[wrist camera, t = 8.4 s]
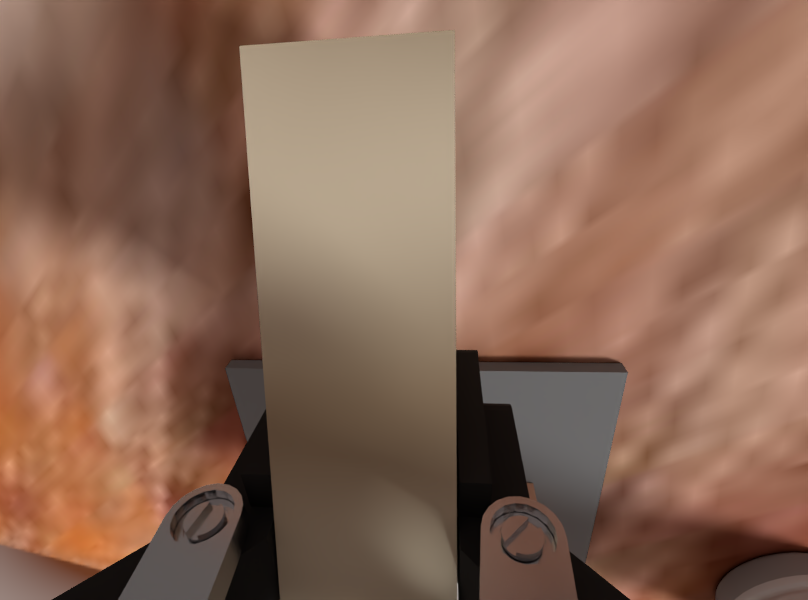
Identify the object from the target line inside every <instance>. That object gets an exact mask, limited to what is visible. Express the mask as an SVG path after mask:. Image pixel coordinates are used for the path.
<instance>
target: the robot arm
mask: <svg viewBox="0 0 808 600" xmlns="http://www.w3.org/2000/svg"><path fill="white" fill-rule="evenodd" d="M456 456H457V583H458V600H630V599H629V598H627V597H626V596H625V595H624V594H622V593H621V592H620V591H619V590H617V589H616V588H615V587H614V586H612V585H611V584H610V583H609V582H607V581H606V580H605V579H604V578H602V577H601V576H600V575H599V574H597V573H596V572H595V571H594V570H592V569H591V568H590V567H589V566H587V565H586V564H585V563H584V562H582V561H581V560H580V559H579V558H577V557H576V556H575V555H574V554H572V553H571V552H570V551H569V547H568V541H567V536H566V533H565V530H564V527H563V525H562V523H561V522H560V521H559V519H558V518H557V516H556V515H555V514H554V513H553V512H552V511H551V510H550V509H548V508H547V507H546V506H545V505H543V504H541V503H539V502H537V501H535V500H533V499H530V497H529V492H528V487H527V482H526V477H525V472H524V467H523V461H522V456H521V451H520V446H519V441H518V436H517V431H516V426H515V421H514V416H513V410H512V407H511V404H494V403H483V396H482V387H481V378H480V369H479V360H478V351H477V350H456ZM52 600H280V592H279V578H278V564H277V551H276V537H275V524H274V510H273V497H272V483H271V469H270V456H269V442H268V429H267V415H266V409H265V411H264V413H263V415H262V417H261V418H260V420H259V422H258V424H257V426H256V427H255V429H254V431H253V433H252V435H251V436H250V438H249V440H248V442H247V444H246V445H245V447H244V449H243V451H242V453H241V454H240V456H239V458H238V460H237V462H236V463H235V465H234V467H233V469H232V470H231V472H230V474H229V476H228V478H227V479H226V481H225V483H224V484H219V483H218V484H211V485H206V486H203V487H201V488H198V489H195V490H193V491H192V492H190V493H189V494H187V495H185V496H184V497H182V498H181V499H180V500H179V501H178V502H177V503H176V504H175V505H173V506H172V508H171V509H170V511H169V512H168V513H167V515H166V516H165V518H164V519H163V521H162V523H161V525H160V526H159V528H158V530H157V532H156V534H155V535H154V537H153V539H152V541H151V542H150V543H149V544H147V545H145V546H144V547H142V548H140V549H138V550H137V551H135V552H133V553H131V554H130V555H128V556H126V557H125V558H123V559H121V560H119V561H118V562H116V563H114V564H113V565H111V566H109V567H107V568H106V569H104V570H102V571H101V572H99V573H97V574H95V575H94V576H92V577H90V578H88V579H87V580H85V581H83V582H82V583H80V584H78V585H76V586H75V587H73V588H71V589H70V590H68V591H66V592H64V593H63V594H61V595H59V596H57V597H56V598H54V599H52Z"/></svg>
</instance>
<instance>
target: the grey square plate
mask: <svg viewBox="0 0 808 600" xmlns="http://www.w3.org/2000/svg"><path fill="white" fill-rule="evenodd" d="M479 369H480V378H481V387H482V396H483V403H494V404H511V407H512V410H513V416H514V421H515V426H516V431H517V436H518V441H519V446H520V451H521V456H522V461H523V467H524V472H525V477H526V482H527V483H533V485H534V490H535V494H536V499H537V502H539V503H541V504H543V505H545V506H546V507H547V508H548V509H550V510H551V511H552V512H553V513H554V514H555V515H556V516H557V518H558V519H559V521H560V522H561V523H562V525H563V527H564V530H565V533H566V536H567V541H568V547H569V551H570V552H571V553H572V554H574V555H575V556H576V557H577V558H579V559H580V560H581V561H582V562H584V563H585V562H586V558H587V553H588V549H589V544H590V540H591V535H592V531H593V526H594V522H595V517H596V513H597V508H598V504H599V499H600V495H601V490H602V486H603V481H604V477H605V472H606V468H607V463H608V459H609V454H610V450H611V445H612V441H613V436H614V432H615V427H616V423H617V418H618V414H619V410H620V405H621V401H622V396H623V392H624V387H625V383H626V378H627V374H628V372H627V371H626V369H625V367H624V366H623V364H622V363H536V362H479ZM225 370H226V373H227V376H228V380H229V383H230V386H231V390H232V393H233V396H234V400H235V403H236V406H237V410H238V413H239V416H240V420H241V423H242V426H243V430H244V433H245V436H246V440H247V442H248V440H249V438H250V436H251V435H252V433H253V431H254V429H255V427H256V426H257V424H258V422H259V420H260V418H261V417H262V415H263V413H264V411H265V409H266V402H265V388H264V375H263V361H262V360H231V361H230V363H229V364H228V365H227V366H226V368H225Z"/></svg>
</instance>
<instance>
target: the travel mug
mask: <svg viewBox="0 0 808 600" xmlns="http://www.w3.org/2000/svg"><path fill="white" fill-rule="evenodd" d="M715 600H808V553H797V552H790V553H778V554H772V555H766V556H763V557H759V558H756V559H753V560H750V561H748V562H746V563H743V564H741V565H740V566H738V567H736V568H734V569H733V570H732V571H730V572H729V573H728V574H727V575H726V576H725V577H724V578H723V579H722V581H721V582H720V583H719V585H718V587H717V589H716V597H715Z"/></svg>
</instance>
